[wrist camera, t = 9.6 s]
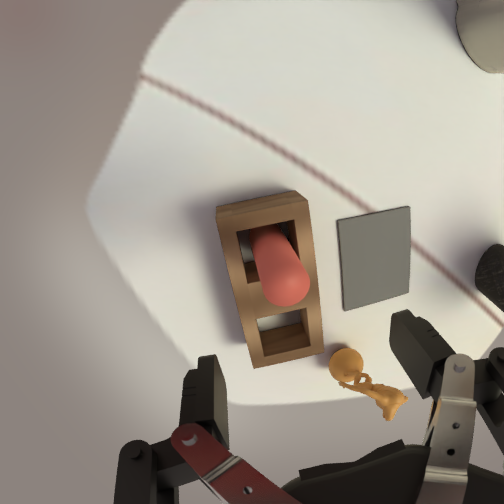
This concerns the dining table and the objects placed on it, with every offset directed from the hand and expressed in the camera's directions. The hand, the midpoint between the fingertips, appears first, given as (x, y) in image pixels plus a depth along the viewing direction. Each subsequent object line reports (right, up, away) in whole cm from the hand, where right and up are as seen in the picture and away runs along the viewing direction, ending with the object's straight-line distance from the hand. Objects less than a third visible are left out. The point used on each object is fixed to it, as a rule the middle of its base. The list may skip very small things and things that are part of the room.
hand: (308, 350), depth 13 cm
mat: (+10, +3, +17) cm, 20 cm away
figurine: (+8, -7, +21) cm, 24 cm away
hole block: (-1, +2, +17) cm, 17 cm away
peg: (-1, +6, +15) cm, 16 cm away
